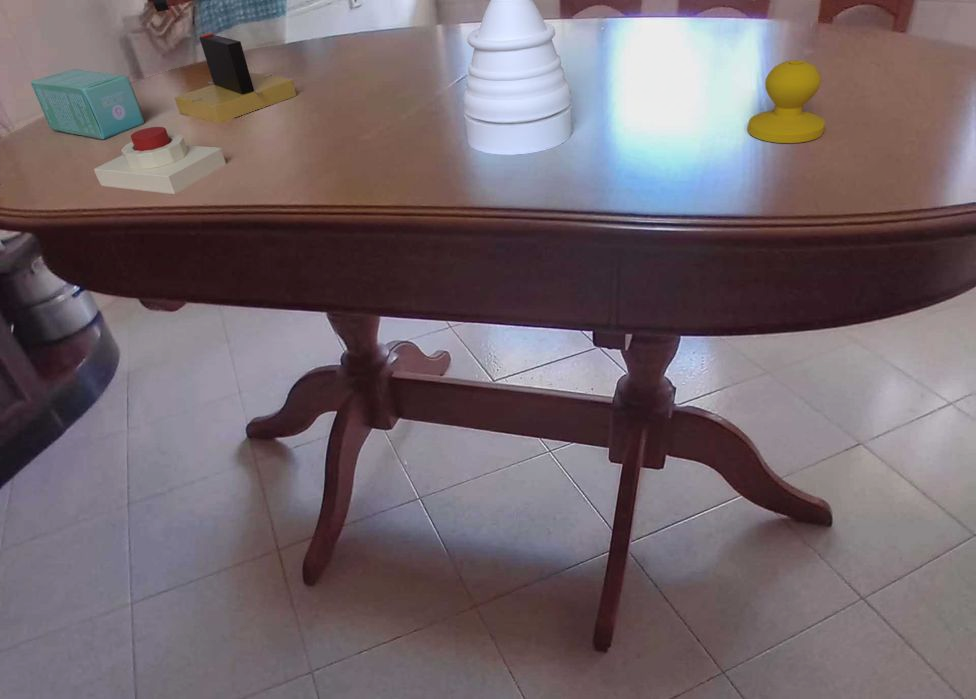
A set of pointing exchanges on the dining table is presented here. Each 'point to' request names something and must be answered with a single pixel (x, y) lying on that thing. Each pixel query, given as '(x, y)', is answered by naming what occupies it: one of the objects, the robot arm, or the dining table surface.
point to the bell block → (161, 167)
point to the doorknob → (789, 105)
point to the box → (88, 103)
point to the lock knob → (227, 63)
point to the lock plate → (234, 98)
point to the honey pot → (515, 83)
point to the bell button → (150, 138)
